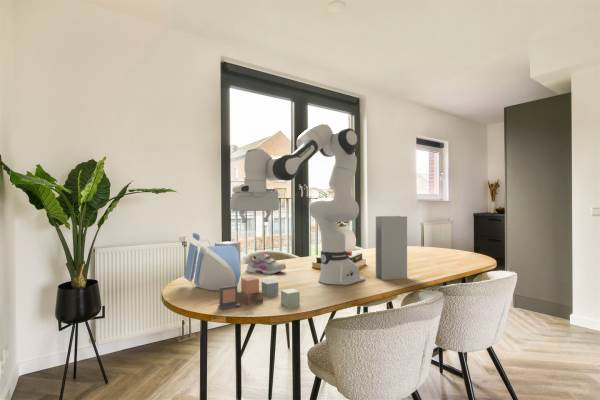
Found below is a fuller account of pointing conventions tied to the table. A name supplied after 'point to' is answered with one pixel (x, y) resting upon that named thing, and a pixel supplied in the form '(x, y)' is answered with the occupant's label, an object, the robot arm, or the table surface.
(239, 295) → the brown curved block
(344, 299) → the table surface
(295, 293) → the sage cube
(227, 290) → the tile
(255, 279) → the terracotta cube
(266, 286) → the slate cube
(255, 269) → the running shoe
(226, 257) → the retro all-in-one computer
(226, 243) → the supplement box
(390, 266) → the tall grey pillar
